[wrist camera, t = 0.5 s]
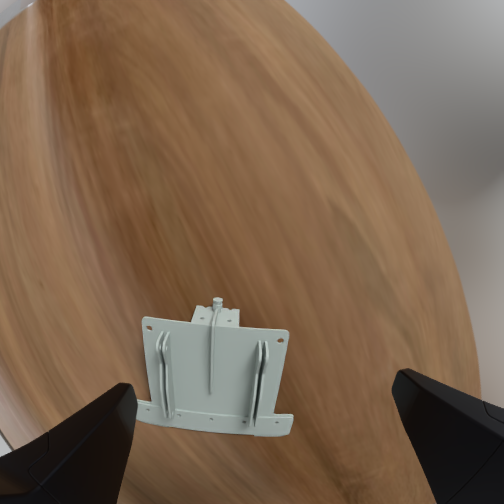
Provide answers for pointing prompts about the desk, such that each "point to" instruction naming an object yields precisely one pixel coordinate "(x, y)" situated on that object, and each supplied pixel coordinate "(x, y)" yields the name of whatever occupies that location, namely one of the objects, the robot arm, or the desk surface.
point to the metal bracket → (214, 374)
